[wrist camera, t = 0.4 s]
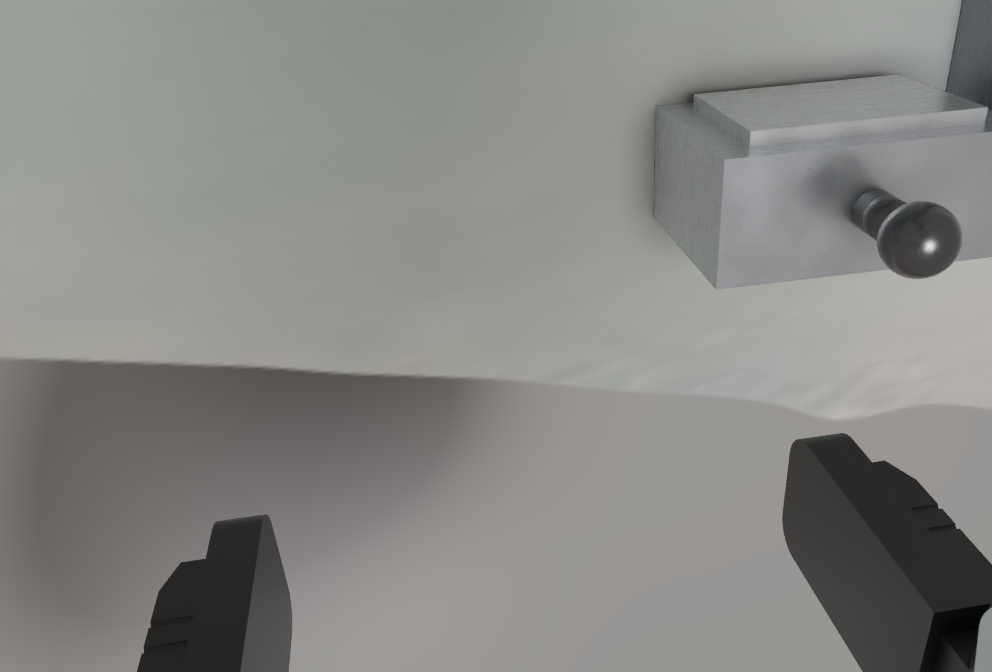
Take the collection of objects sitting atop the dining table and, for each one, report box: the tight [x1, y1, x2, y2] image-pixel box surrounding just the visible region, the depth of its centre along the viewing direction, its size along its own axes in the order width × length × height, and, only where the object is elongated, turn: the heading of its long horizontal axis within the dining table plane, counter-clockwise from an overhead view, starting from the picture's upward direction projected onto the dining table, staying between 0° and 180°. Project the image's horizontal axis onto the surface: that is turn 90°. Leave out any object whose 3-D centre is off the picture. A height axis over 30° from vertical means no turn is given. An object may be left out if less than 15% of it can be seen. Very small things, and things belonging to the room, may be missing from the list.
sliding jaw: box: [654, 74, 992, 290], centre depth 33 cm, size 6×12×12 cm, turn 94°
